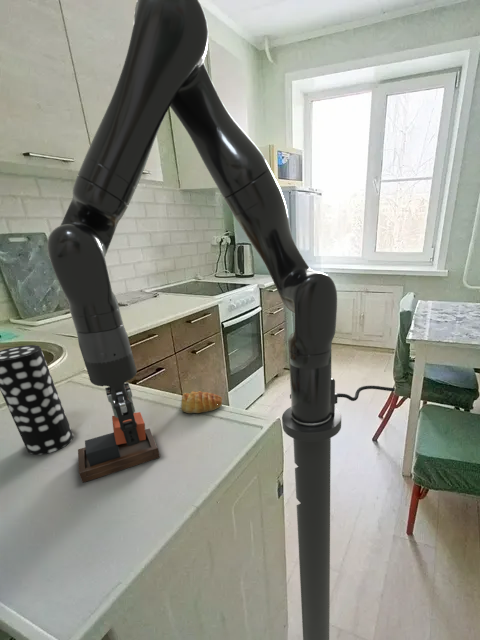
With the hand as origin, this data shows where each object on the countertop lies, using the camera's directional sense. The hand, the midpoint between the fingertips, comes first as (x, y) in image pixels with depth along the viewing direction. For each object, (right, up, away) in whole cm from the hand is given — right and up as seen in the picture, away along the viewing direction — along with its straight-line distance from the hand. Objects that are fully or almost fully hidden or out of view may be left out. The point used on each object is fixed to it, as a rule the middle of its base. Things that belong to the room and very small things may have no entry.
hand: (131, 436), depth 67 cm
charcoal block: (-4, -4, -1) cm, 6 cm away
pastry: (+9, +4, +17) cm, 20 cm away
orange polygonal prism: (0, 0, 0) cm, 0 cm away
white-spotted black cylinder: (-20, -2, +6) cm, 21 cm away
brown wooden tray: (-2, -4, 0) cm, 5 cm away
